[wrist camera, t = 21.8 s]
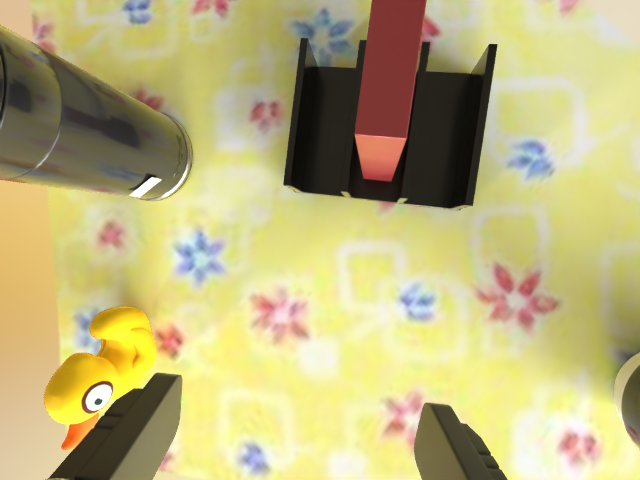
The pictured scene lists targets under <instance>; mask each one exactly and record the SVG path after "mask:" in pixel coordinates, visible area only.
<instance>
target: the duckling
mask: <svg viewBox="0 0 640 480" xmlns="http://www.w3.org/2000/svg"><path fill="white" fill-rule="evenodd" d="M89 330H90V334H91V335H92V336H93V337H95V338H98V339H101V343H102V345H101V349H100V351H99V353H98V355H97V356H94V355H92V354H89V353H76V354H73V355H72V356H70V357H69V358H68V359H67V360H66V361H65V362H64V363H63V364H62V365H61V366H60V368H59V369H58V370H57V371H56V372H55V373H54V375H53V376H52V378H51V380H50V381H49V383H48V385H47V387H46V390H45V394H44V405H45V408H46V410H47V412H48V414H49V415H50V416H51V417H52V418H53V419H54V420H56V421H57V422H60V423H64V424H70V426H69V430H68V434H67V437H66V439H65V441H64V442H63V444H62V449H63V450H72V449H74V448H75V447H76V446H77V445H78V444H79V443H80V441H81V440H82V439H83V438H84V437H85V436H86V434H87V433H88V432H89V431H90V430H91V429H92V428H94V426H95V424H96V422H97V420H98V417H99V411H100V410H101V409H102V408H103V407H104V406H105V405H106V404H107V403H108V402H109V400H110V399H111V398H112V399H118V398H119V397H121V396H122V395H124V394H126V393H127V392H129V391H130V390H132V389H133V388H138V387H139V386H140V385H141V383H142V382H143V380H144V378H145V376H146V375H147V373H148V372H149V371H150V370H151V368H152V367H153V365H154V363H155V360H156V343H155V340H154V338H153V336H152V331H151V327H150V323H149V320H148V318H147V316H146V315H145V314H144V313H143V312H142V311H141V310H139V309H137V308H134V307H126V306H121V307H114V308H110V309H107V310H104V311H102V312H100V313H99V314H98V315H97V316H96V317H95V318H94V319H93V321H92V322H91V324H90V328H89Z"/></svg>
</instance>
